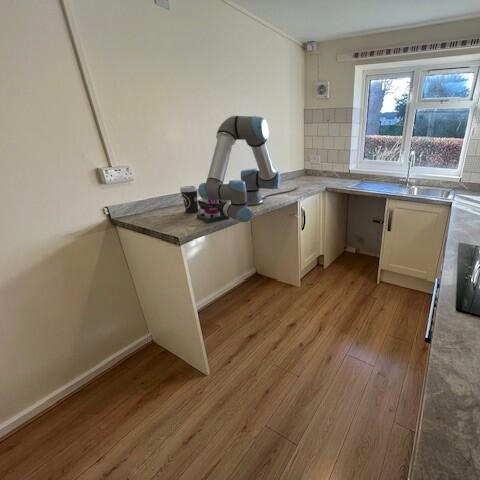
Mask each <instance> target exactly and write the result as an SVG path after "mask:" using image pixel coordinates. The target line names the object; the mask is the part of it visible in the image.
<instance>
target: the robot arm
mask: <svg viewBox="0 0 480 480" xmlns="http://www.w3.org/2000/svg"><path fill="white" fill-rule="evenodd" d="M269 136H270V130H269V125H268V122H267V120H266V118H264V117H263V116H257V115H250V116H249V115H232V116H229V117H228V118H226V119H225V120H224V121H223V122H222V123H221V125H219V128H218V129H217V132H216V135H215V138H216V144H215V147H214V151H213V155H212V159H211V162H210V166H209V171H208V174H207V177H206V181H205V182H201V183H200V184H199V185H198V188H197V193H198V196H199V197H200V198H201V199H202V198H203V199H210V200H211V199H217V200H219V203H218V204H217V203H214V204H208V203H205V202H203V200H198V199H197V201H198V207H199V208H200V210H203V211H204V210H208V211H210V212H213V210H217V211H219V212H220V213H221V214H222V215H225V216H228V217H229V218H231V219H234V220H237V221H238V222H241V223H247V222H249V221H250V220H251V219H252V218H253V211H252V209H251V208H250V207H248V206H259V205H262V204H263V202H264V201H263V200H264V199H266V198H267V197H270V196H276V195H281V194H286V193H290V192H292V191H295V190H297V189H298V188H299V187H298V186H299V185H297V186H296V187H298V188H296V187H294V188H292V189H293V190H292V189H290V191H289V190H286V191H281V192H276V193H272V194H266V195H264V197H262V195H261V193H260V189H261V190H262V189H263V190H278V189H279V187H280V184H281V172H280V171H277V170H276V168H275V167H274V166H273V164H272V160H271V157H270V154H269V149H268V147H267V142H268V139H269ZM238 140H240V141H245V142H246V144H247V146H249V147H250V148H251V151H252V154H253V157H254V159H255V162H256V165H257V168H247V169H242V170H241V171H240V179H232V180H229V181H228V183H224V182H225V178H226V174H227V169H228V164H229V161H230V157H231V154H232V149H233V146H234V145H235V144H236V142H237V141H238ZM223 200H225V201H223Z"/></svg>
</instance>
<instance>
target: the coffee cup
mask: <svg viewBox="0 0 480 480" xmlns="http://www.w3.org/2000/svg"><path fill="white" fill-rule="evenodd" d="M179 192H180V193H181V198H182V201H183V205H184V209H185V212H186V213H188V214H195V213H198V212H199V203H198V188H197V186H195V185H183V186H180V188H179Z"/></svg>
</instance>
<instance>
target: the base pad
mask: <svg viewBox="0 0 480 480" xmlns="http://www.w3.org/2000/svg"><path fill="white" fill-rule="evenodd" d="M196 219H198V220H199V221H203V222H205V223H207V224H210V223H215V222H220V221H223V220H227V219H230V217H228V216H225V215H222V214H221V213H220V216H219V217H214V218H210V219H208V218H206V217H205V214H204V212H203V213H197V214H196Z"/></svg>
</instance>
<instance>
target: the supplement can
mask: <svg viewBox="0 0 480 480" xmlns="http://www.w3.org/2000/svg"><path fill="white" fill-rule="evenodd" d="M201 199H202V200H201V201H203V202H205V203H208V204H214V203H217V204H218V203H219V200H217V199H211V200H210V199H203V198H201ZM203 213H204V214H205V217H206V218H208V219H210V218H214V217H219V216H220V212H219V211H217V210H213V212H210V211H208V210H204V209H203Z"/></svg>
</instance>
